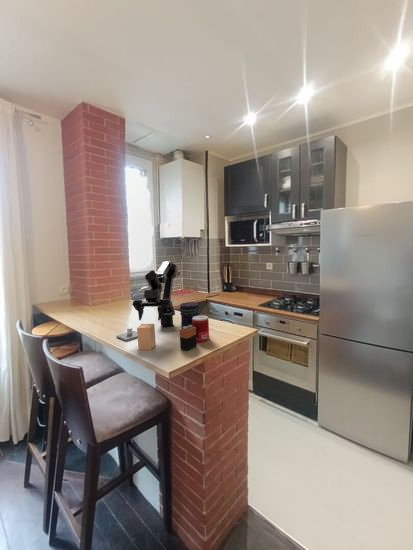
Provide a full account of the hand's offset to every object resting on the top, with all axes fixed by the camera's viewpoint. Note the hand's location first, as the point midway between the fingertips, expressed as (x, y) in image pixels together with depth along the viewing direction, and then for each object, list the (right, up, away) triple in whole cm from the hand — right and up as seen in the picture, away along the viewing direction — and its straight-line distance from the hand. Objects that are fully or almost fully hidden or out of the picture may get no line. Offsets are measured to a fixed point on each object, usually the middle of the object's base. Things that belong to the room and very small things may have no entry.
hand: (149, 320), depth 122 cm
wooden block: (0, -12, -3) cm, 12 cm away
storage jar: (+19, -9, +16) cm, 26 cm away
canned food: (+25, -10, +3) cm, 27 cm away
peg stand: (-13, -11, +12) cm, 21 cm away
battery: (+19, -11, -7) cm, 23 cm away
